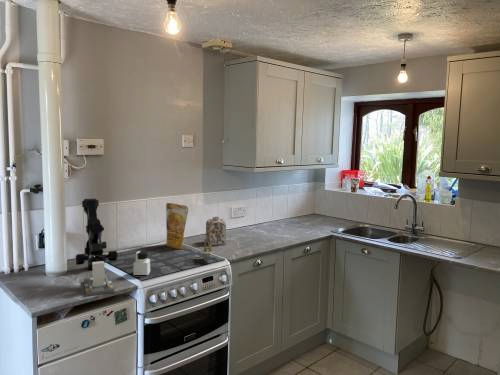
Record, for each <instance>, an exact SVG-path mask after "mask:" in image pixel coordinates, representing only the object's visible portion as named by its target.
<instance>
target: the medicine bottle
mask: <svg viewBox="0 0 500 375" xmlns="http://www.w3.org/2000/svg"><path fill="white" fill-rule="evenodd" d="M132 264H133V276H134V275H148V276H149V274H150V272H151V259H150V258H149V253H148V251H146V250H139V251H136V252H135V261H133V263H132Z"/></svg>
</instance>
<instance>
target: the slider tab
mask: <svg viewBox="0 0 500 375" xmlns="http://www.w3.org/2000/svg"><path fill="white" fill-rule="evenodd" d="M92 269H93V270H92V278H93V283H92V288H93V287H101V286H106V282H105V274H106V272H105V263H104V261H100V262H92Z"/></svg>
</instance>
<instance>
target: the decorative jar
mask: <svg viewBox="0 0 500 375" xmlns="http://www.w3.org/2000/svg"><path fill="white" fill-rule="evenodd" d="M209 237H210V246H211V247H212V246H224V245H227V225H226V222H225V220H224V218H223V219H222V218H220V217H219V216H213V217H212V218H209V219H208V220H207V221H206V222H205V239H206V244H208V245H209Z"/></svg>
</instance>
